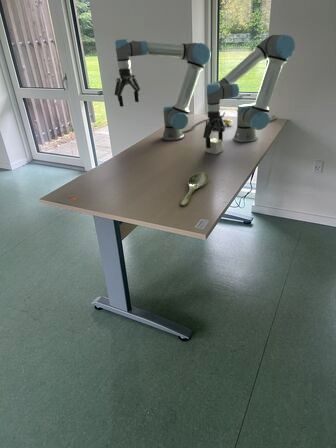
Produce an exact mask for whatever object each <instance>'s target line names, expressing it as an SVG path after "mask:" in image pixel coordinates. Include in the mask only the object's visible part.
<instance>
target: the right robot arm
mask: <svg viewBox="0 0 336 448" xmlns="http://www.w3.org/2000/svg"><path fill="white" fill-rule="evenodd" d="M295 50H296V42H295V40H294V38H293V36H291V35H287V34H271V35H269V36H267V37H265V39H263V40H262V41H261V42H260V43H258V44H257V45H256V46H255V47H254V48H253V51H252V52H251V53H249V54H248V55H247V56H246V57H245V58H244V59H243V60H241V61H240V62H239V63H238V64H237V65H236V66H235V67H233V69H231V70H230V71H229V72H227V74H225V76H223V77H222V78H221V79H220V80H217V81H214V82H211V83H208V84H207V85H206V104H207V105H206V106H207V119H209V120H207V121H205V127H204V131H203V135H202V137H203V139H205V149H206V148H211V147H210V139H211V134H212V131H213V129H215V128H214V127H215V126H216V127H217V128H218V129H217V130H218V135H217V136H218V137H217V139H219V140H222V143H223V140H224V139H223V136H224V135H223V134H224V132H225V129H226V128H225V127H224V124H225V123H224V124H223V121H222V118H223V116H222V115H221V100H225V99H233V98H237V97H238V96H239V95H240V87H239V84H237V82H239V81H240V80H241V79H242V78H243V77H244V76H245V75H247V74H248V73H249V72H251V70H253V69H254V68H255V67H256V66H257V65H258V64H259V63H261V62H264V61H265V60H267V61H268V62H267V65H266V69H265V71H264V74H263V78H262V80H261V83H260V87H259V89H258V92H257V96H256V98H255V102H254V103H246V104H245V103H244V104H241V105H238V106H237V110H236V112H237V117H236V119H237V120H236V123H237V124H236V130H235V134H234V136H233V140H234V141H236V142H240V143H250V142H254V141H256V140H257V137H258V135H257V133H256V131H261V130H263V129H265V128H267V127H268V125H269V123H270V122H273V121H275V120H276V119H277V116H276V114H273V115H274V116H273V117H274V118H272V119H271V117H270V114H269V113H270V107H269V106H270V102H271V100H272V97H273V94H274V92H275V88H276V86H277V82H278V80H279V77H280V74H281V72H282V68H283V66H284V65H285V64H286V63H288V59H290V58H291V56H293V55H294V52H296V51H295Z"/></svg>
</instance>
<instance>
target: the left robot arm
mask: <svg viewBox="0 0 336 448" xmlns="http://www.w3.org/2000/svg"><path fill="white" fill-rule="evenodd" d="M114 45H115V54H116V60H117V67H118V75H119V77H117V78H115V79H116V84H115V89H114V96H117V101H118V103H119V107H122V108H123V107H124V100H123V95H122V93H123V90H124V89H125V86H127V85H130V86H131V88H132V89H133V90H134V91H133V94H134V95H133V96H134V102H135V103H139V102H140V99H139V94H140V93H139V91H140V90H141V86H140V84H139V82H138V80H137V78H136V75H135V74H132V68H131V58H130V57H139V56H151V57H164V58H174V59H175V58H177V59H179V60H181V61H186V66H187V69H186V72H185V75H184V77H183V81H182V84H181V87H180V90H179V94H178V97H177V100H176V103H174V105H166V106H164V107H163V108H162V109H163V111H162V112H163V121H164V130H163V135H162V139H163V140H164V141H167V142H176V141H180V140H182V139H184V137H185V136H184V134H185V133H189V132H191V131H192V130H193V129H194V128H195V127H196V126H197V125H199V124H201V123H203V122H206V121H209V118H206V119H204V120H203V119H202V120H201V121H198V122H197V123H195V124H194V125H193V126H192V127H191V128H189V129H187V130H184V131H183V129H185V128H187V126H188V124H189V113H190V110H189V107H190V103H191V101H192V98H193V96H194V95H193V94H194V92H195V90H196V86H197V83H198V80H199V77H200V74H201V72H202V71H203V70H204V69H205V67H206V64H208V63H209V61H210V59H211V57H212V55H211V54H212V53H211V50H210V47H209V46H208V45H207V44H205V43H202V42H189V43H183V42H181V43H180V44H174V43H173V44H172V43H163V42H162V43H161V42H151V41H150V42H148V41H146V40H140V41H138V40H130V41H128V39H127V38H122V39H116V40H115V41H114ZM225 115H226V112H223V114H222V115H221V116H222V117H224V116H225Z"/></svg>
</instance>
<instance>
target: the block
mask: <svg viewBox="0 0 336 448" xmlns="http://www.w3.org/2000/svg"><path fill="white" fill-rule="evenodd" d="M210 147H211V148H206V147H205V153H208V154H214V155H218V154H219V153H221V152H223V142H222V140H219V139H218V138H214V137H213V138H211V137H210Z"/></svg>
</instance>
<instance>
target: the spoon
mask: <svg viewBox="0 0 336 448" xmlns="http://www.w3.org/2000/svg"><path fill="white" fill-rule="evenodd" d="M209 180H210V176H209V174H208V173H206V172H203V171H200V172H199V171H198V172H195V173H194V174H192V175H191V176H189V178H188V180H187V185H188V187H189V188H188V189H189V190H188V192H187V193H186V195H185V196H184V197H183V198H182V200H181V202H180V206H183V207H185V206H187V205H188V203H189V201H190V199H191V197H192V195H193V193H194V191H196V190H197V189H199V188H201V187H203V186H205V185H206V184H207V183H208V182H209Z"/></svg>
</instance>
